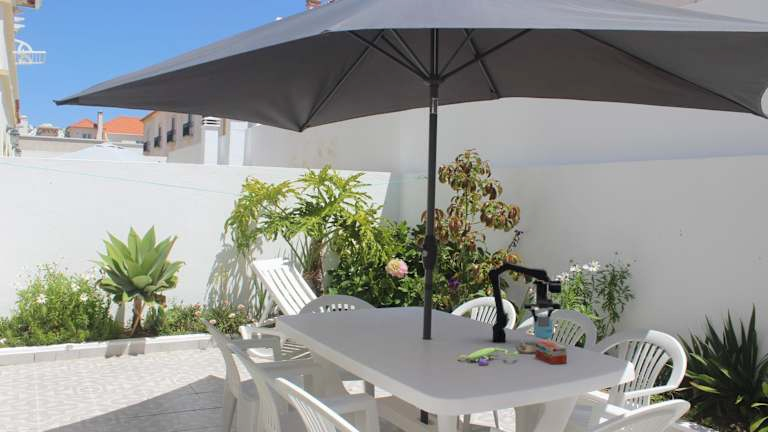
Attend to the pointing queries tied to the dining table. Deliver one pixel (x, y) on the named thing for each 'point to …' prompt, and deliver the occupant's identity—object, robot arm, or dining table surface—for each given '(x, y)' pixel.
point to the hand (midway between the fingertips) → (541, 322)
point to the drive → (541, 320)
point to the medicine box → (551, 352)
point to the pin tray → (526, 348)
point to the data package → (544, 330)
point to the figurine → (484, 353)
